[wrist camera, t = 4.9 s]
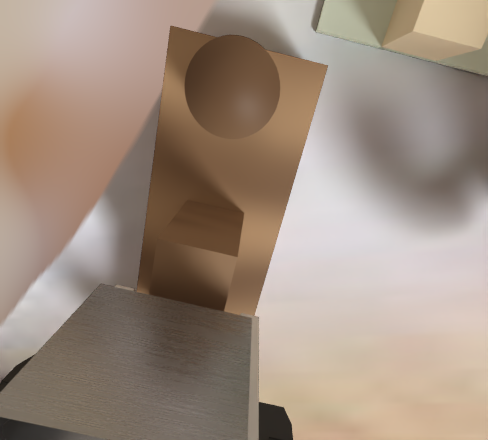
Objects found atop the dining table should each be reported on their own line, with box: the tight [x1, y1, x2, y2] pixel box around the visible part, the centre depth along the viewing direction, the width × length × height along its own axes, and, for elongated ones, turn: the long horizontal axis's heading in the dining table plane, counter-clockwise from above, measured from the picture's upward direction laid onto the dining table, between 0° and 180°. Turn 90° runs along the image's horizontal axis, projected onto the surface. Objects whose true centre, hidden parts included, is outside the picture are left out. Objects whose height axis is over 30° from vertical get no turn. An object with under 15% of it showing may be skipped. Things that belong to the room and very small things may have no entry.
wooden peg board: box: [137, 26, 328, 316], centre depth 16 cm, size 24×7×11 cm, turn 167°
